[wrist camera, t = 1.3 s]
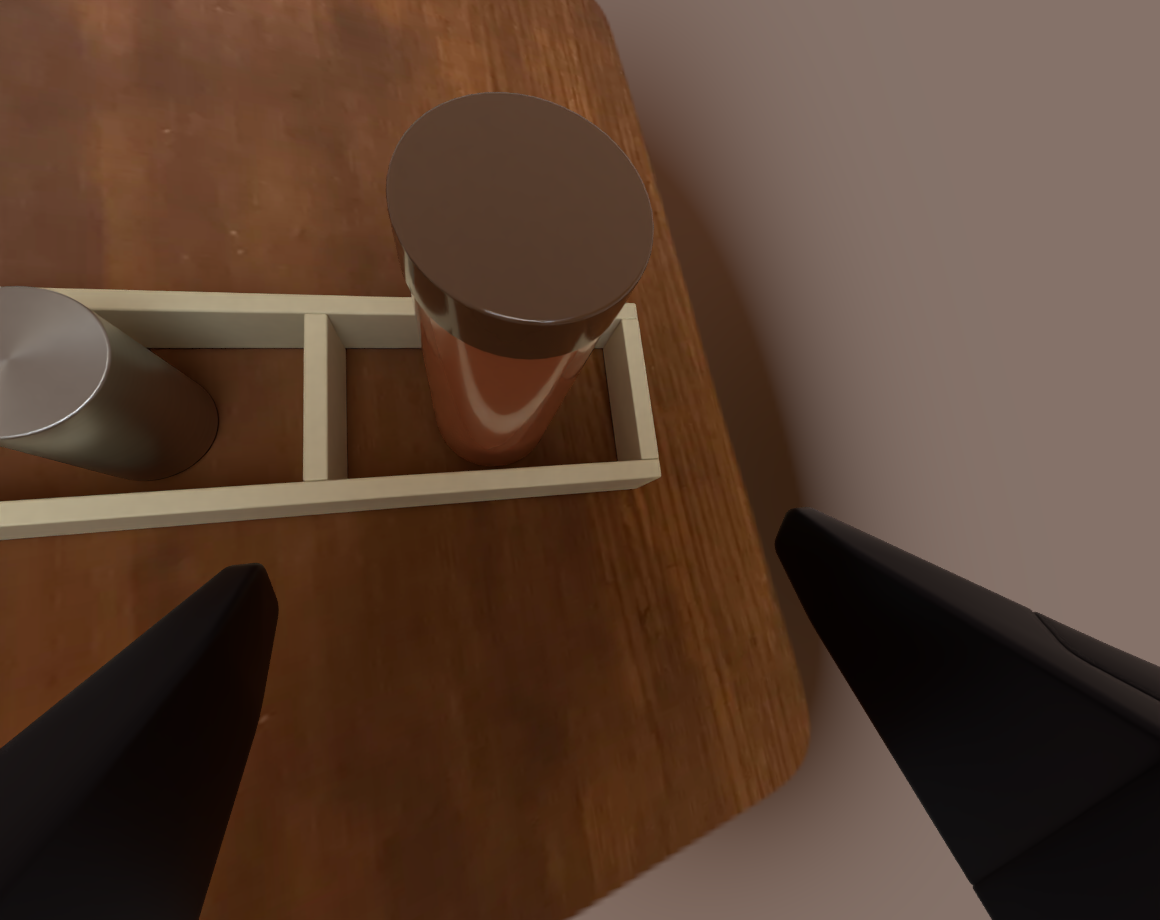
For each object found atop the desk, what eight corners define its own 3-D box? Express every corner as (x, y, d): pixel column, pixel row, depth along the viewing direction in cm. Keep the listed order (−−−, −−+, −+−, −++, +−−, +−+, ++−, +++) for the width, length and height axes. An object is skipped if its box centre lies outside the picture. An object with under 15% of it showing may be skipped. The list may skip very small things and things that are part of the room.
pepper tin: (216, 476, 18) (102, 435, 12) (77, 485, 17) (-118, 443, 11) (221, 371, 19) (116, 287, 13) (88, 372, 18) (-87, 282, 12)
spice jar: (553, 465, 21) (672, 325, 9) (436, 472, 20) (389, 321, 8) (542, 360, 22) (636, 108, 10) (430, 361, 21) (380, 72, 9)
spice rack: (615, 334, 24) (636, 302, 21) (637, 488, 22) (662, 477, 19) (-50, 328, 17) (-152, 281, 14) (-88, 547, 16) (-211, 542, 13)
